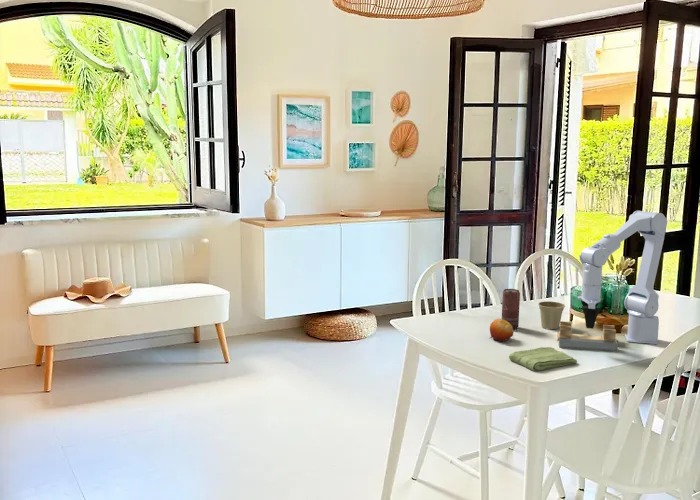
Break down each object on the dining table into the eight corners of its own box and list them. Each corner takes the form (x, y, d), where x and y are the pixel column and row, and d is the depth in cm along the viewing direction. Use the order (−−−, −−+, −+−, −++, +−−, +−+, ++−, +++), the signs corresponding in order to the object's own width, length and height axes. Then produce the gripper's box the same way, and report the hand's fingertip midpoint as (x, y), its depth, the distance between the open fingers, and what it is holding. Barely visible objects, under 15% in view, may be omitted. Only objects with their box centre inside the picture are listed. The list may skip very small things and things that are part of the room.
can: (512, 331, 234) (514, 292, 232) (497, 327, 239) (499, 289, 236) (522, 327, 238) (524, 290, 236) (507, 324, 242) (509, 287, 240)
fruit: (492, 329, 230) (503, 313, 226) (509, 345, 226) (520, 328, 222) (479, 334, 225) (490, 317, 221) (496, 350, 221) (507, 333, 217)
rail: (615, 349, 214) (616, 340, 214) (617, 352, 211) (617, 343, 211) (558, 346, 218) (558, 337, 217) (559, 348, 215) (559, 340, 214)
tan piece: (615, 339, 224) (616, 325, 223) (617, 346, 217) (618, 331, 216) (557, 334, 229) (558, 320, 228) (557, 340, 222) (558, 326, 221)
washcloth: (579, 365, 199) (580, 355, 199) (534, 374, 192) (534, 363, 191) (549, 353, 211) (549, 343, 210) (505, 360, 203) (505, 350, 203)
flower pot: (565, 331, 233) (566, 308, 232) (537, 330, 235) (539, 306, 234) (562, 324, 242) (563, 302, 241) (536, 323, 244) (537, 300, 243)
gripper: (578, 279, 219) (575, 318, 221) (579, 288, 205) (576, 330, 208) (600, 280, 217) (598, 319, 219) (603, 289, 203) (600, 331, 205)
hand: (589, 325), depth 213 cm, fingers open, 7 cm apart
